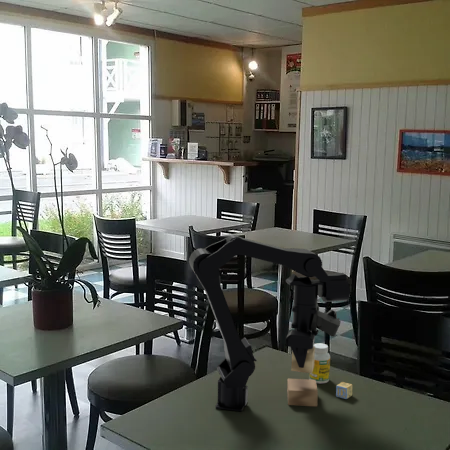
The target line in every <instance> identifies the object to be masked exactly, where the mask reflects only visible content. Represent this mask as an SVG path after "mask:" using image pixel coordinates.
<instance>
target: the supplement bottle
mask: <svg viewBox="0 0 450 450" xmlns="http://www.w3.org/2000/svg"><path fill="white" fill-rule="evenodd" d="M314 346H315V358H314V368H313V371H312V373H309V378H308V379H311V380H316V384H327V383H329V381H330V372H331V371H330V370H331V355H330V353H329V346H328V344H325V343H322V342H321V343H320V342H319V343H314Z"/></svg>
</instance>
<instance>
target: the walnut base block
mask: <svg viewBox="0 0 450 450" xmlns="http://www.w3.org/2000/svg"><path fill="white" fill-rule="evenodd" d="M286 389H287V391H286V395H287V405H288V406H298V407H299V406H303V407H304V406H305V407H318V398H319V397H318V396H319V395H318V393H319V392H318V386H317V383H316V380H311V379H310V378H308V379H307V378H306V379H305V378H287V386H286Z"/></svg>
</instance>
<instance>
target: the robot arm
mask: <svg viewBox="0 0 450 450" xmlns="http://www.w3.org/2000/svg"><path fill="white" fill-rule="evenodd" d="M238 255H241V256H245V257H249V258H253V259H257V260H261V261H265V262H269V263H272V264H277V265H281V266H283V267H285V268H288V269H289V270H291V271H294V272H296V273H297V274H300V275H302V276H297V275H296V273H292V274H291V275H290V276H289V277H287V278H286V279H285V282H286V283H287V284H288V285H289V286H293V304H292V305H293V306H292V307H291V312H292V322H291V324H290V325H291V331H289V332H288V333H287V335H286V337H285V346H286V347H288V348H290V349H291V352H292V351H293V354H294V356H295V358H296V361H297V363H298V366H299V367H300V368H304V364H305V360H306V356H307V352H308V349H313V346H314V344H316V342H315V339H316V336H317V335H318V333H319V331H321V332H324V333H325V334H327V335H329V336H331V337H333V338H335V337H336V335H337V333H338V330H339V328H340V325H341V320H340V318H339V317H337V316H338V315H337V311H336V310H334V309H330V310H329V311H327V312H326V311H324V312H322V311H320V306H319V304H318V298H321V300H322V301H323V302H325V303H326V302H346V301H348V300H349V299H350V295H351V288H350V285H349V281H348V279H347V278H348V275H347V274H346V273H344V272H338V273H327V272H326V270H325V269H324V268H323V260H322V259H321V257H320V256H319V255H318V254H316V253H314V252H312V251H311V250H309V249H306V248H297V247H296V248H295V247H292V248H284V247H279V246H276V245H271V244H268V243H264V242H261V241H256V240H252V239H248V238H244V237H241V236H238V235H237V234H230V235H228V236H227V237H225V238H224V239H222V240H219V241H217V242H214V243H212V244H210V245H208V246H207V247H204V248H201V247H200V248H197V249H195V250H194V251H192V253H191V254H190V256H189V258H188V262H189V263H188V264H189V266H190V268H191V270H192V271H193V272H194V275H195V276H196V278H197V279H198V281H199V282H200V285H201V286H202V288H203V290H204V291H205V293H206V297H207V300H208V302H209V305H210V307H211V310H212V313H213V316H214V318H215V321H216V324H217V327H218V330H219V331H220V334H221V336H222V340H223V350H224V356H225V358H223V360H222V361H221V362H220V363H218V365H217V366H216V369H217V372H218V374H219V375H220V377H219V378H218V380H217V403H216V405H215V409H218V410H219V409H220V410H225V411H227V410H228V411H232V412H233V411H235V412H242V411H244V407H246V405H247V403H248V401H249V398H248V397H249V387H248V385H247V383H248V381H249V378H250V377H251V376H252V375H253V374H254V372H255V370H256V363H255V362H258V361H257V359H256V356H255V355H254V353H253V348H252V345H251V344H250V343H249V341H248V339H247V338H246V337H243V338H241V337H240V335H239V333H238V332H239V331H238V330H237V327H236V324H235V321H234V319H233V316H232V313H231V310H230V308H229V305H228V302H227V300H226V297H225V295H224V292H223V289H222V285H221V275H220V274H221V273H220V268H221V267H224V266H225V265H226V264H227V263H228V262H230V261H232V259H233V258H234V257H236V256H238ZM311 278H316V279H311Z"/></svg>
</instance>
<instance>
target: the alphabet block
mask: <svg viewBox="0 0 450 450" xmlns="http://www.w3.org/2000/svg"><path fill="white" fill-rule="evenodd" d="M335 392H336V393H335V396H336V397H337V398H341V399H345V400H347V399H349V398H351V397H352V395H353V384H352V383H348V382H344V381H341V382H340V383H338V384H336V386H335Z"/></svg>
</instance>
